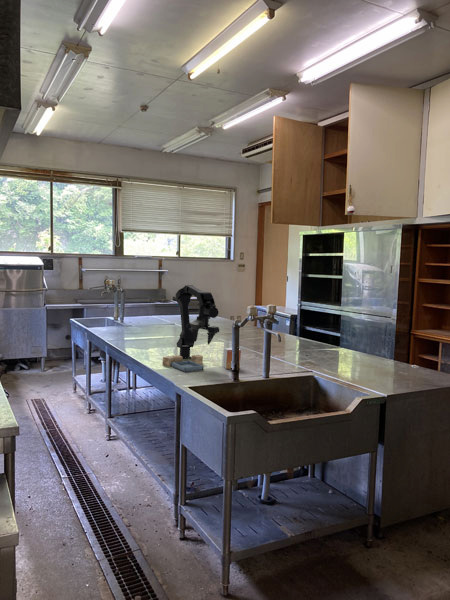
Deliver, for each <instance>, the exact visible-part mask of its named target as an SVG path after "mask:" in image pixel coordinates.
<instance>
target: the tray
mask: <svg viewBox="0 0 450 600" xmlns="http://www.w3.org/2000/svg"><path fill="white" fill-rule="evenodd" d="M170 367H172V368H174V369H176V370H179V371H181V372H184V373H187V372H197V371H204V365H203V364H197V363H195V362H192V361H191V360H183V361H180V362H171V366H170Z"/></svg>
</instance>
